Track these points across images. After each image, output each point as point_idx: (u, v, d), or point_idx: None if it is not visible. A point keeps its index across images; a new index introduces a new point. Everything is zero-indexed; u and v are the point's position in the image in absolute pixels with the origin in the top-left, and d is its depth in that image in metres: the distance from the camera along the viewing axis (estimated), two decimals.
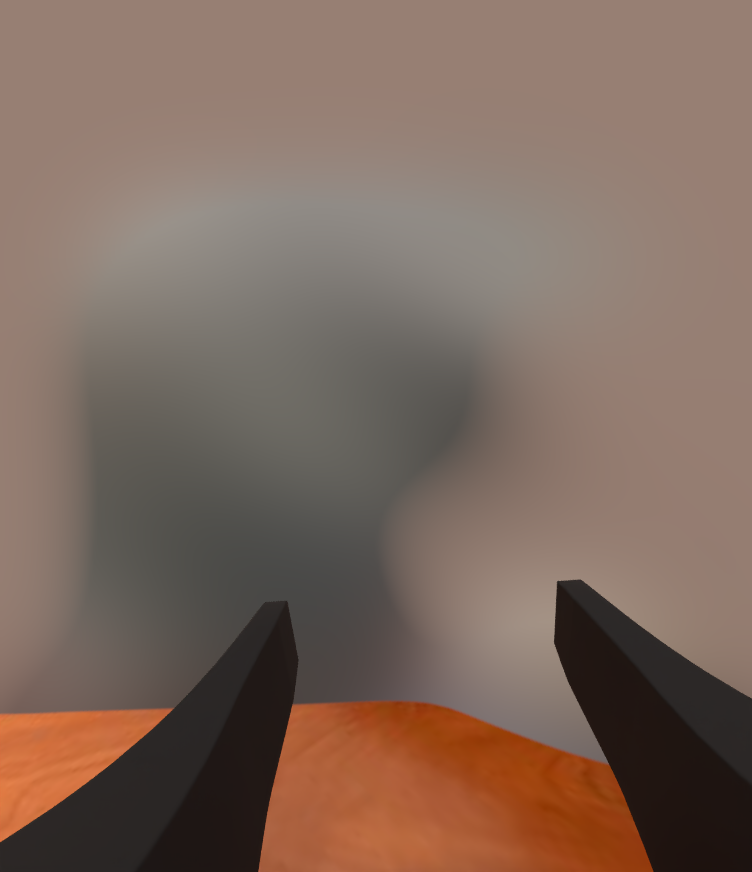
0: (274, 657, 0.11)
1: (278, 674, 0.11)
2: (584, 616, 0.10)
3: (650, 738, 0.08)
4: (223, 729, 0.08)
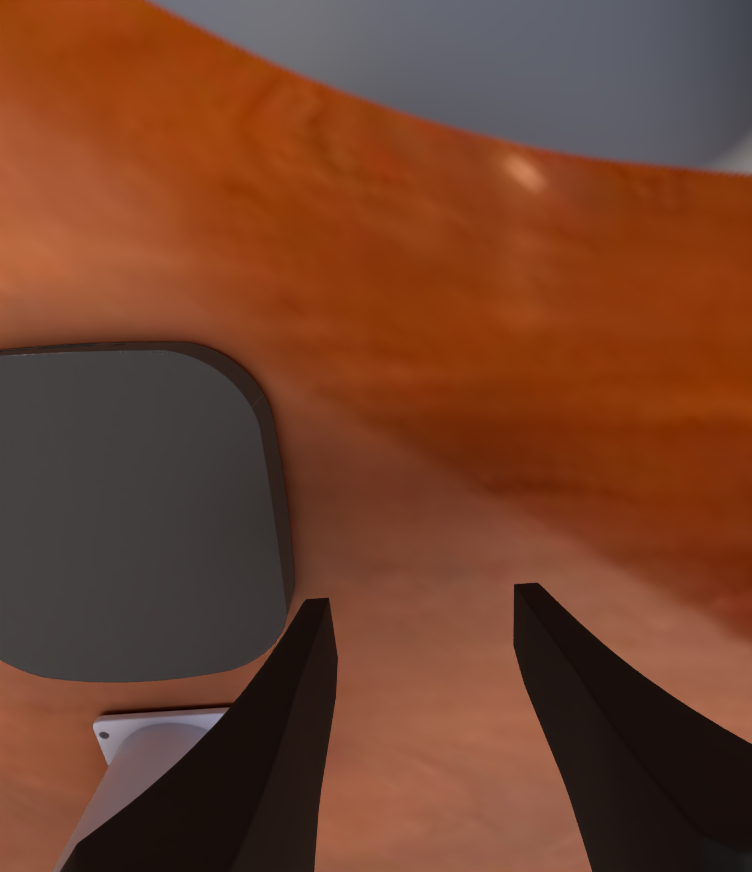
0: (321, 654, 0.11)
1: (324, 671, 0.11)
2: (535, 619, 0.10)
3: (588, 742, 0.08)
4: (287, 725, 0.08)
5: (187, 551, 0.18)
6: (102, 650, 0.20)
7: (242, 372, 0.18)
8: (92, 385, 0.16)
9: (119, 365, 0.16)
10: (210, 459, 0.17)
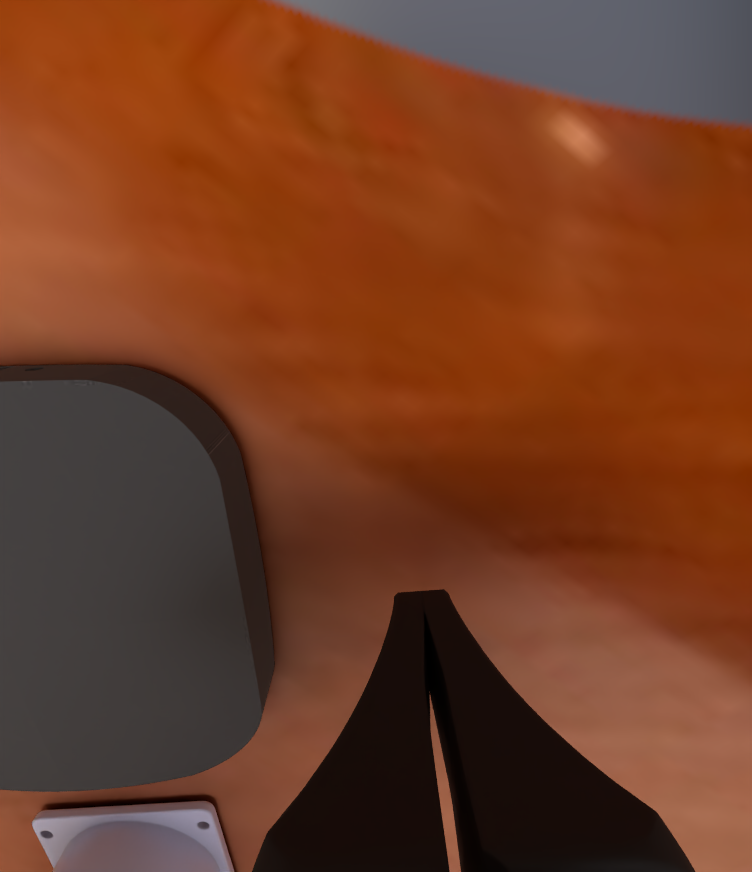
0: (425, 647, 0.11)
1: (426, 664, 0.11)
2: (428, 627, 0.10)
3: (452, 750, 0.08)
4: (428, 716, 0.08)
5: (129, 639, 0.14)
6: (26, 755, 0.15)
7: (200, 405, 0.13)
8: None
9: (24, 400, 0.12)
10: (154, 523, 0.13)
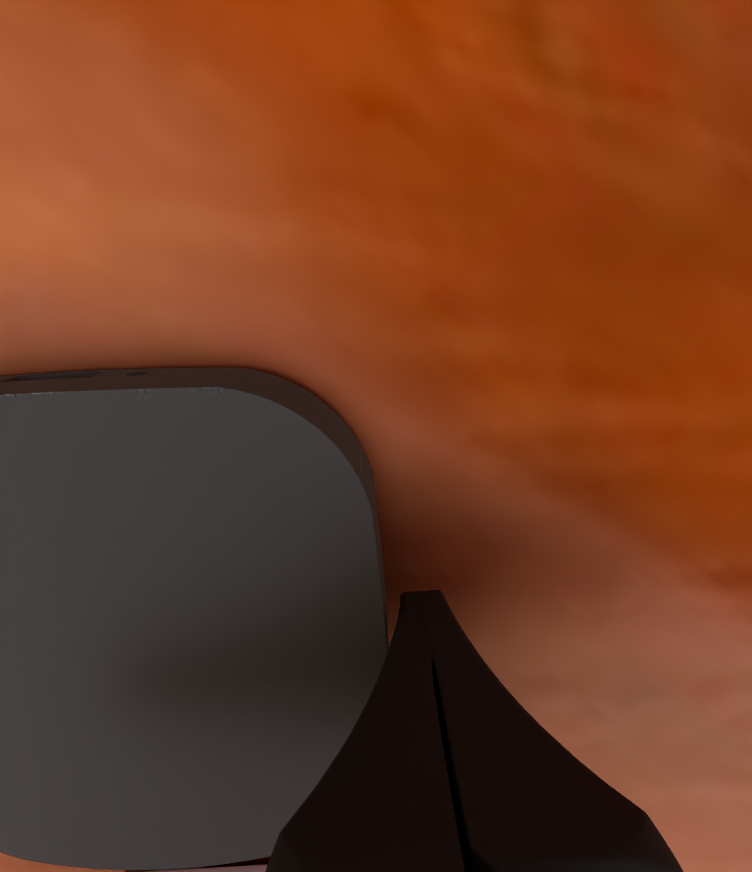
0: None
1: None
2: (422, 627, 0.10)
3: (445, 750, 0.08)
4: (438, 716, 0.08)
5: (246, 701, 0.11)
6: (109, 832, 0.13)
7: (333, 416, 0.11)
8: (92, 447, 0.09)
9: (139, 413, 0.09)
10: (289, 564, 0.10)
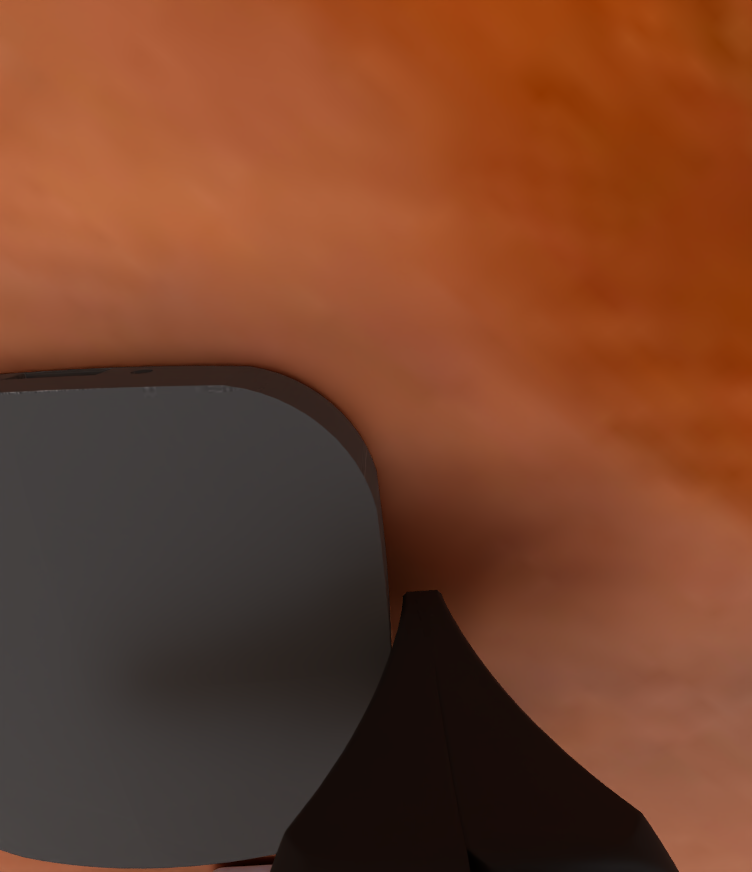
0: None
1: None
2: (420, 628, 0.10)
3: None
4: (441, 715, 0.08)
5: (250, 700, 0.11)
6: (111, 830, 0.13)
7: (338, 415, 0.11)
8: (98, 445, 0.09)
9: (145, 411, 0.09)
10: (293, 563, 0.10)
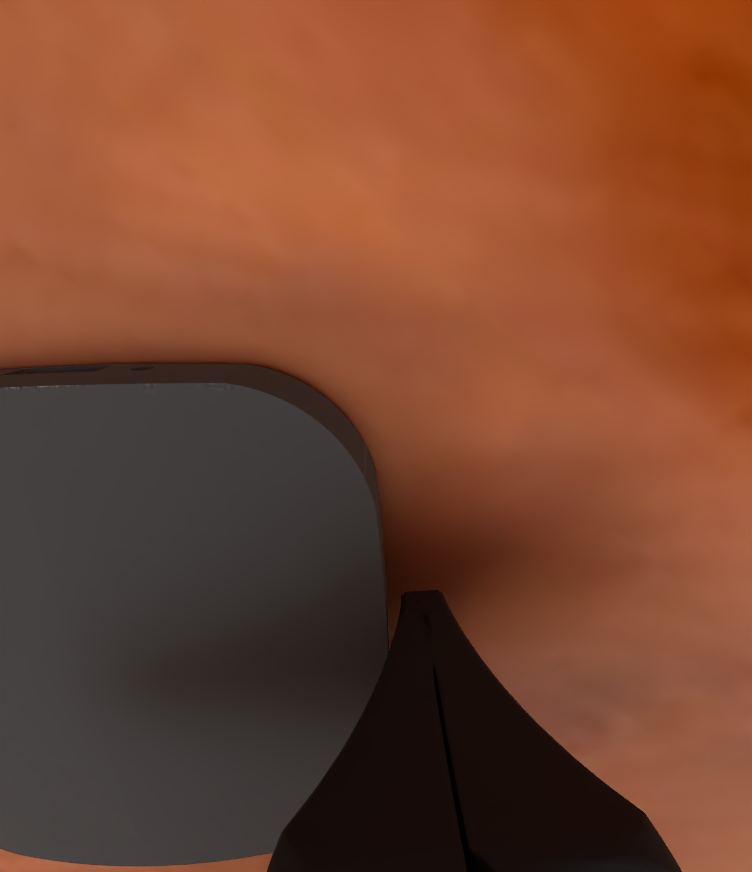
0: None
1: None
2: (421, 628, 0.10)
3: (444, 750, 0.08)
4: (439, 716, 0.08)
5: (246, 698, 0.11)
6: (106, 828, 0.13)
7: (338, 414, 0.11)
8: (97, 442, 0.09)
9: (145, 408, 0.09)
10: (292, 561, 0.10)
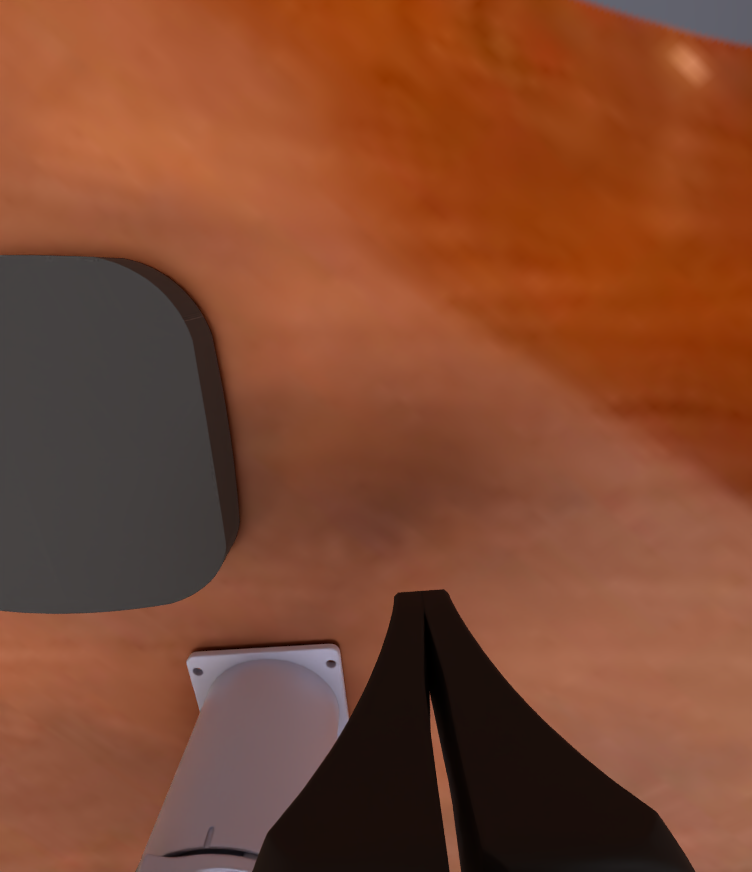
0: (425, 647, 0.11)
1: (426, 664, 0.11)
2: (428, 627, 0.10)
3: (452, 750, 0.08)
4: (428, 716, 0.08)
5: (121, 472, 0.18)
6: (37, 578, 0.19)
7: (180, 290, 0.17)
8: (19, 291, 0.16)
9: (46, 271, 0.15)
10: (142, 375, 0.17)
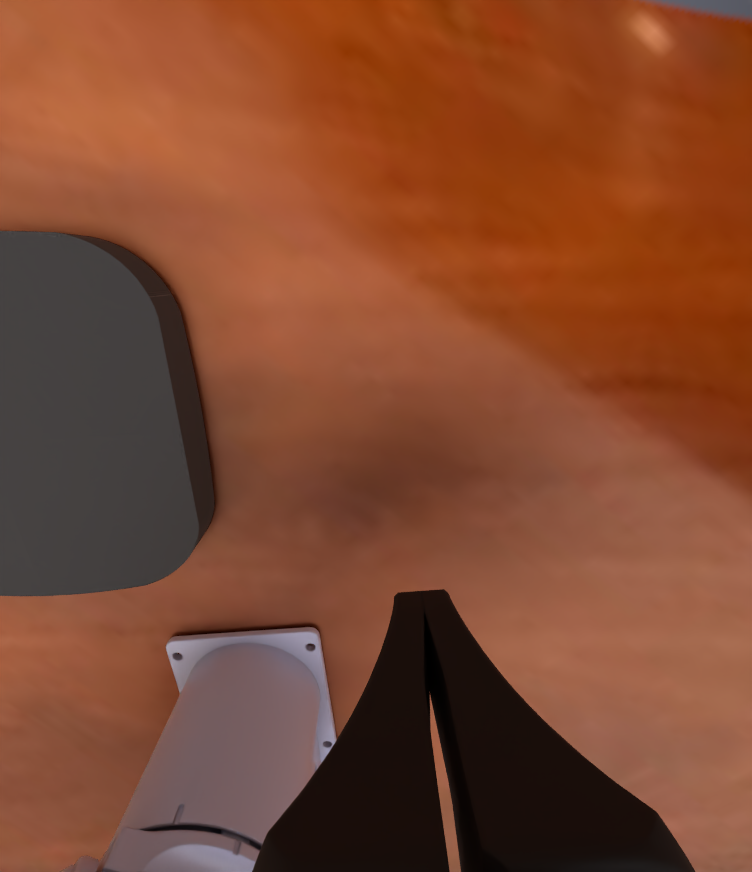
0: (425, 647, 0.11)
1: (426, 664, 0.11)
2: (428, 627, 0.10)
3: (452, 750, 0.08)
4: (428, 716, 0.08)
5: (90, 451, 0.18)
6: (11, 560, 0.19)
7: (147, 268, 0.17)
8: None
9: (9, 247, 0.15)
10: (108, 352, 0.17)
